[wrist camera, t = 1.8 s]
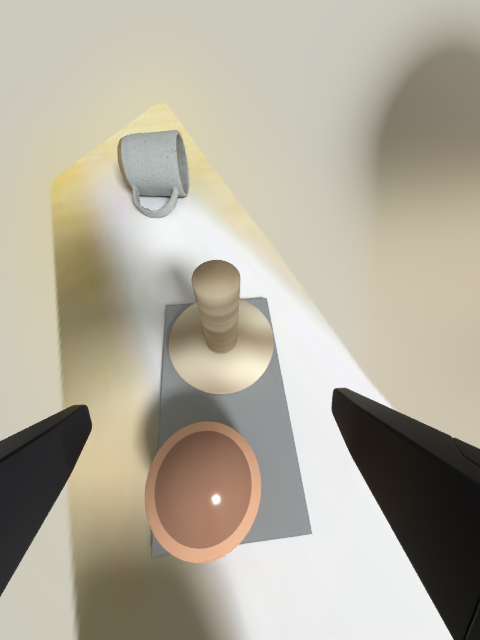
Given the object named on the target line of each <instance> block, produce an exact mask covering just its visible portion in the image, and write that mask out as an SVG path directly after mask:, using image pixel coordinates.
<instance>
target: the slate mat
mask: <svg viewBox="0 0 480 640" xmlns="http://www.w3.org/2000/svg"><path fill="white" fill-rule="evenodd" d="M244 301H246V302H248V303H250V304H252V305H253V306H255V307H256V308H257V309H258V310H260V311H261V312H262V314H263V315H264V316H265V317H266V319H267V320H268V322H269V324H270V326H271V329H272V333H273V328H272V323H271V318H270V313H269V308H268V302H267V298H262V299H249V300H244ZM191 305H193V304H182V305H168V306H166V321H165V338H164V355H163V371H162V388H161V404H160V421H159V438H158V451H159V450H160V448H161V447H162V446H163V444H164V443H165V442H166V441H167V440H168V439H169V438H170V437H171V436H172V435H173V434H174V433H176V432H177V431H179V430H180V429H182V428H184V427H186V426H188V425H190V424H194V423H197V422H205V421H211V422H218V423H222V424H224V425H227V426H229V427H231V428H232V429H234V430H235V431H237V432H238V433H239V434H240V435H241V436H242V437H243V438H244V439H245V440H246V441H247V443H248V444H249V445H250V447H251V449H252V450H253V452H254V455H255V457H256V459H257V462H258V466H259V470H260V476H261V497H260V504H259V508H258V512H257V515H256V517H255V520H254V523H253V524H252V526H251V528H250V530H249V532H248V533H247V535H246V536H245V538H244V539H243V540H242V541H241V542H240V544H246V543H253V542H259V541H266V540H273V539H280V538H287V537H294V536H301V535H307V534H312V531H311V526H310V520H309V515H308V510H307V505H306V500H305V495H304V489H303V484H302V479H301V474H300V469H299V463H298V458H297V453H296V448H295V443H294V437H293V432H292V427H291V422H290V417H289V411H288V406H287V401H286V396H285V391H284V385H283V380H282V375H281V370H280V365H279V360H278V354H277V349H276V344H275V339H274V348H273V354H272V357H271V360H270V363H269V365H268V367H267V369H266V370H265V372H264V373H263V375H262V376H261V377H260V378H259V379H258V380H257V381H256V382H255V383H254V384H253V385H251V386H250V387H248V388H246V389H244V390H242V391H240V392H236V393H233V394H228V395H213V394H208V393H204V392H201V391H199V390H197V389H195V388H193V387H191V386H190V385H189V384H187V383H186V382H185V381H184V380H183V379H182V378H181V376H180V375H179V374H178V372H177V371H176V369H175V368H174V366H173V364H172V361H171V359H170V355H169V345H168V344H169V336H170V332H171V330H172V327H173V325H174V323H175V321H176V320H177V319H178V317H179V316H180V315H181V314H182V313H183V312H184V311H185V310H186V309H187V308H188V307H190V306H191ZM273 338H274V334H273ZM164 555H171V554H170V553H169V552H168V551H166V550H165V549H164V548H163V547H162V545H161V544H160V543H159V542H158V540H157V539H156V537H155V536H154V534H153V538H152V554H151V557H157V556H164Z"/></svg>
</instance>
